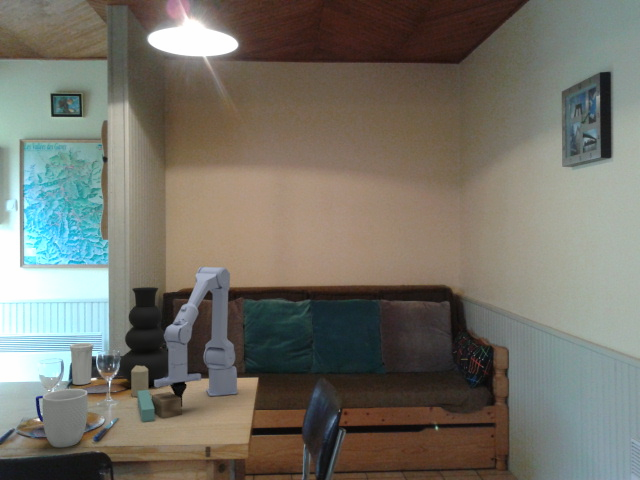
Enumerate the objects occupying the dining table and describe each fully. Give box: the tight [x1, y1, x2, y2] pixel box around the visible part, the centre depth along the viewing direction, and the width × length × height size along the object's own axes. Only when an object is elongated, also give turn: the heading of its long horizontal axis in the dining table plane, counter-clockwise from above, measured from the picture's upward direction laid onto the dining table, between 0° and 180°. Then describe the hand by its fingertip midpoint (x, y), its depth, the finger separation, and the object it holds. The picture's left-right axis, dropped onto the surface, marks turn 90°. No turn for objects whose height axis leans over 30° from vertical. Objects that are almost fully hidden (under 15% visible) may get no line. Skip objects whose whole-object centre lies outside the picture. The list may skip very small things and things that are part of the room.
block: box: [151, 391, 182, 419], centre depth 182 cm, size 6×9×5 cm, turn 35°
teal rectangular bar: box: [137, 389, 155, 423], centre depth 184 cm, size 4×22×4 cm, turn 21°
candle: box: [130, 365, 149, 398], centre depth 202 cm, size 6×6×10 cm
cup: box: [69, 342, 94, 386], centre depth 217 cm, size 8×8×14 cm
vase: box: [118, 286, 169, 387], centre depth 217 cm, size 18×18×35 cm
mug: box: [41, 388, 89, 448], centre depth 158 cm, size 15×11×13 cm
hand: (178, 406), depth 184 cm, fingers closed, pressing on block
